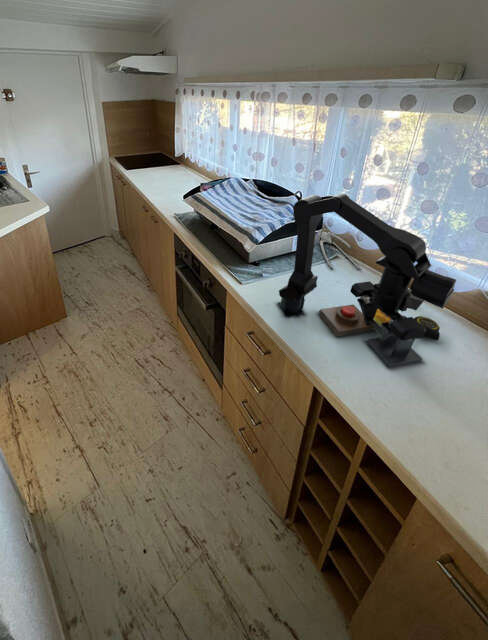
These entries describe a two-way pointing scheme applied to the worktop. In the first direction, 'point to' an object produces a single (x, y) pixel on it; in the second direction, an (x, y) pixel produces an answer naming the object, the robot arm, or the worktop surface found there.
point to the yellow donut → (381, 317)
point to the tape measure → (429, 327)
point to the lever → (375, 324)
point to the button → (348, 311)
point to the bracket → (394, 351)
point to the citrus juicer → (326, 238)
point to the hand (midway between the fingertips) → (375, 332)
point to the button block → (345, 321)
